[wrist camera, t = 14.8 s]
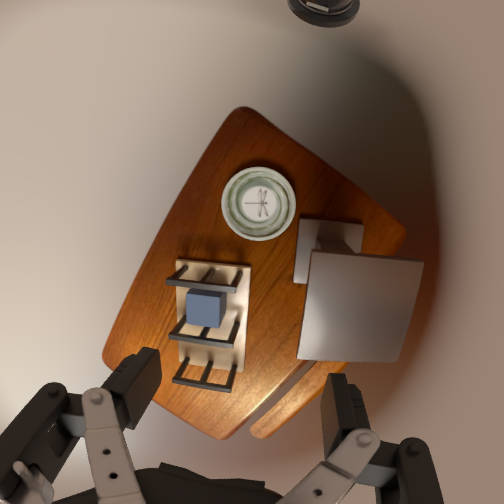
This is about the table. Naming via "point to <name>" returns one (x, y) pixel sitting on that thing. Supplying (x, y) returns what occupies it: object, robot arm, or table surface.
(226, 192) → the saucer
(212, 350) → the rack
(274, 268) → the table surface
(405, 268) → the stand
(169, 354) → the table surface
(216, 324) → the block
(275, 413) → the table surface
